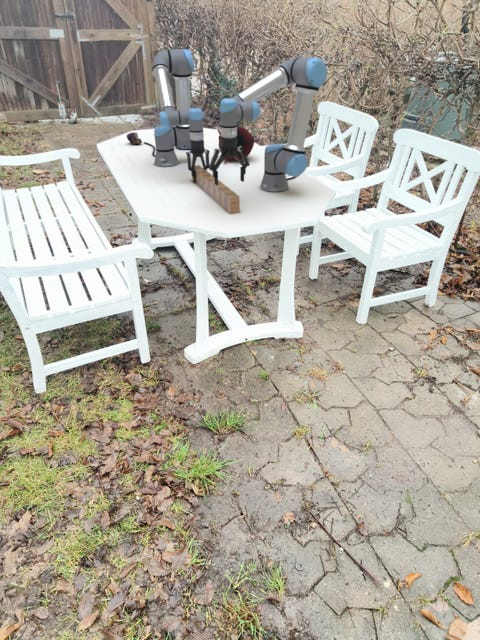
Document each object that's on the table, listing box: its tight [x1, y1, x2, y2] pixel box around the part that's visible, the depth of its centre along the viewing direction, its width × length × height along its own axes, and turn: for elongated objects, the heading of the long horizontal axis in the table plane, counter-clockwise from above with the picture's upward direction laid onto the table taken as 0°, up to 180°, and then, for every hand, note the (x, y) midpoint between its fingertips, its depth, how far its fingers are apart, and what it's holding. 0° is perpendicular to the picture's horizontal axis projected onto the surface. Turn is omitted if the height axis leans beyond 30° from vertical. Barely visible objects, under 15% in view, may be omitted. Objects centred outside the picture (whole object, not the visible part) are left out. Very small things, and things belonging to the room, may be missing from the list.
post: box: [191, 165, 241, 214], centre depth 242 cm, size 59×5×8 cm, turn 23°
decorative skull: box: [217, 125, 255, 165], centre depth 297 cm, size 21×24×25 cm
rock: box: [126, 132, 143, 145], centre depth 336 cm, size 12×9×10 cm
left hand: (199, 181), depth 262 cm, fingers closed on post, 5 cm apart
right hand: (229, 182), depth 219 cm, fingers open, 13 cm apart
